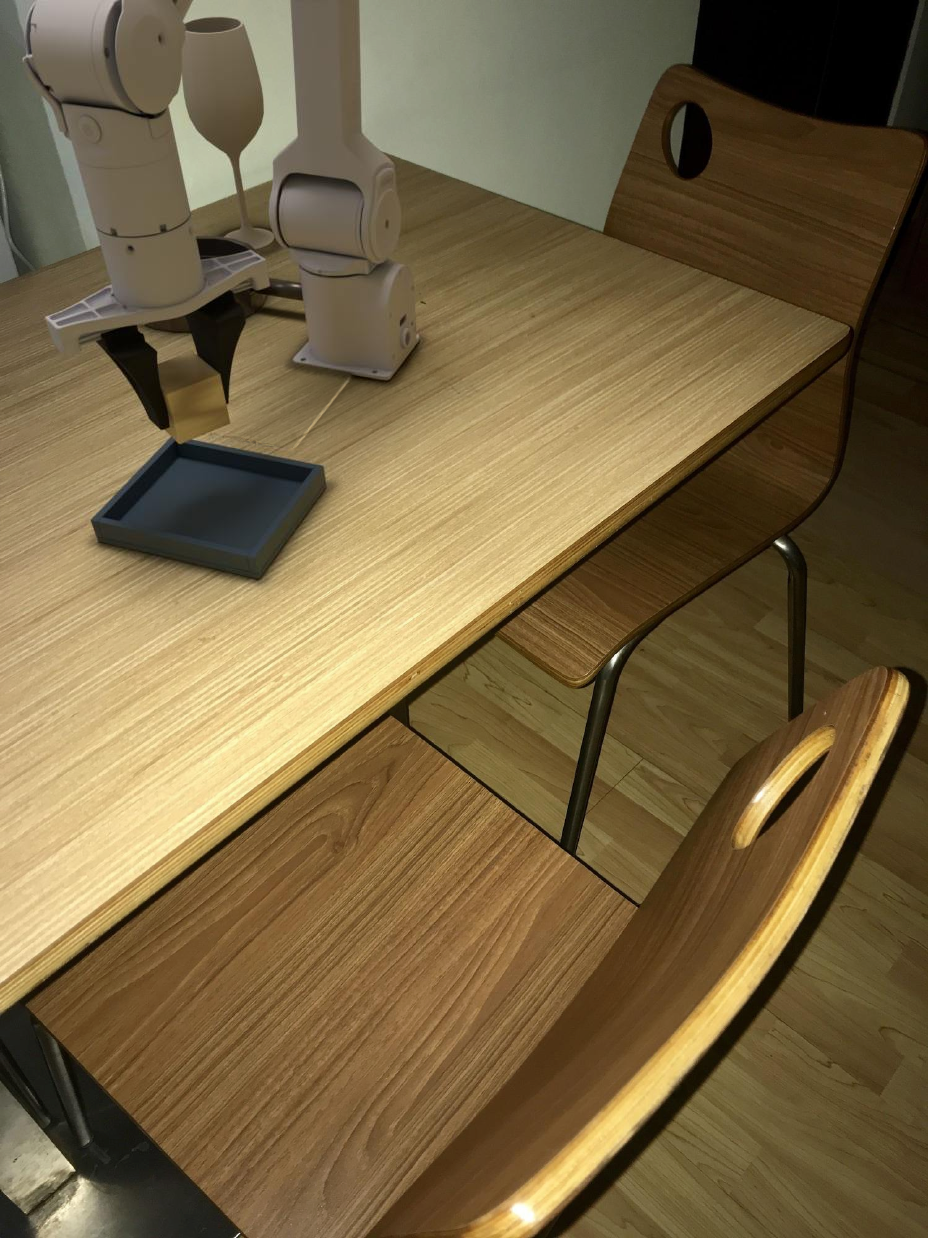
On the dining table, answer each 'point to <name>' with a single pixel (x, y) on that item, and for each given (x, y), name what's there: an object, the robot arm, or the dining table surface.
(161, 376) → the cube
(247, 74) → the wineglass
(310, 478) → the tray
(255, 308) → the pan
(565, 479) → the dining table surface
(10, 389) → the dining table surface
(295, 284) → the pan handle
